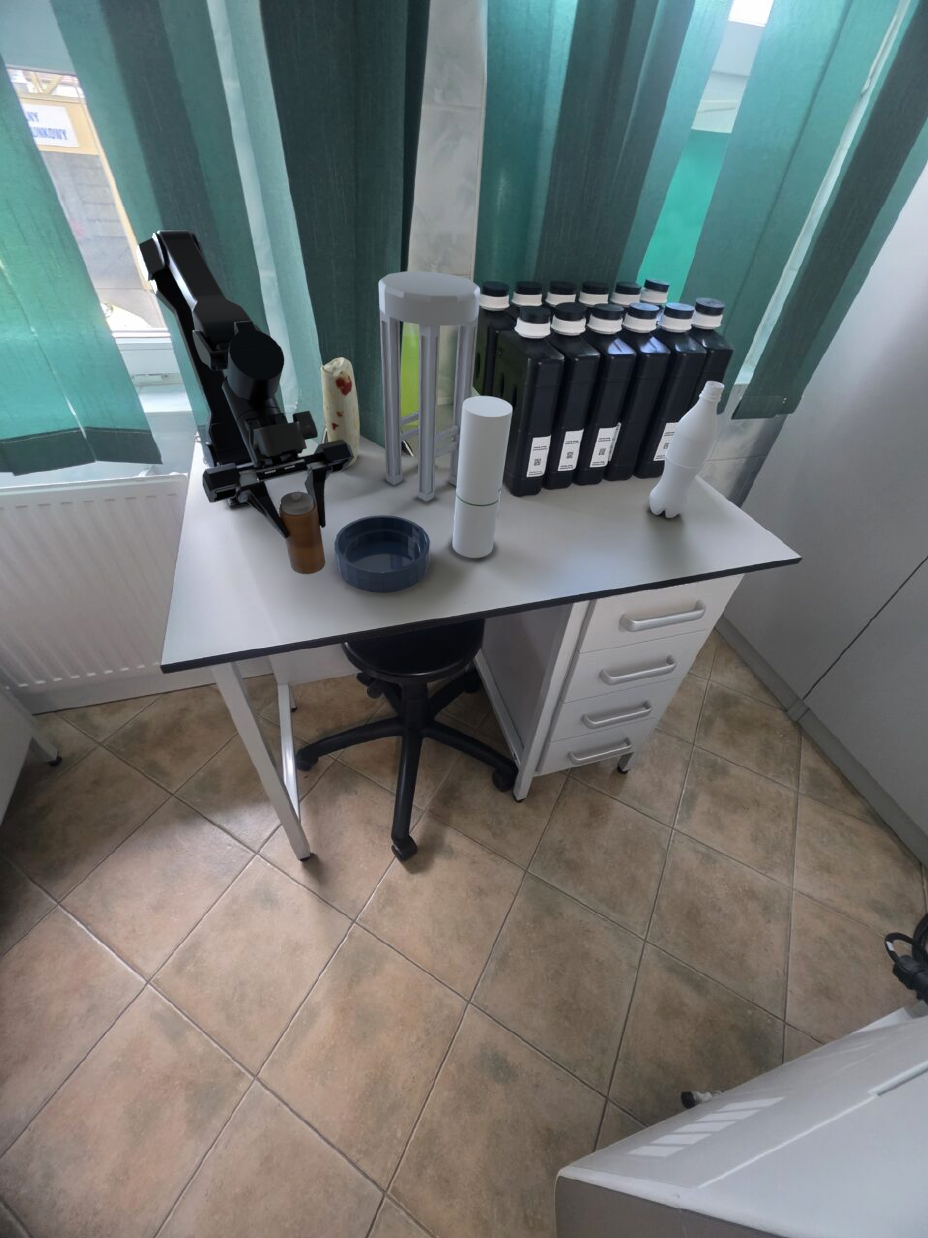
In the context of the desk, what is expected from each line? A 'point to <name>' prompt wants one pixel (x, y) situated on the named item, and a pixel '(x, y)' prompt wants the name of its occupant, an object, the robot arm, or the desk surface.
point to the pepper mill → (302, 532)
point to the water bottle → (687, 452)
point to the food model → (341, 403)
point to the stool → (425, 365)
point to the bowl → (382, 553)
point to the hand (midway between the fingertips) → (305, 532)
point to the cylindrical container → (480, 473)
